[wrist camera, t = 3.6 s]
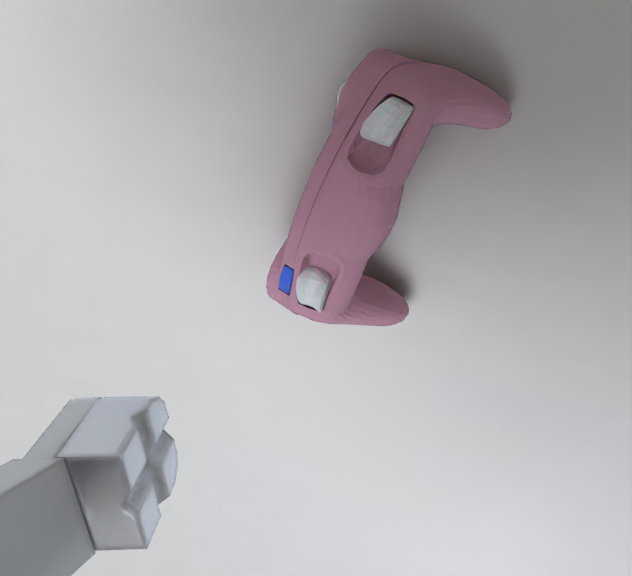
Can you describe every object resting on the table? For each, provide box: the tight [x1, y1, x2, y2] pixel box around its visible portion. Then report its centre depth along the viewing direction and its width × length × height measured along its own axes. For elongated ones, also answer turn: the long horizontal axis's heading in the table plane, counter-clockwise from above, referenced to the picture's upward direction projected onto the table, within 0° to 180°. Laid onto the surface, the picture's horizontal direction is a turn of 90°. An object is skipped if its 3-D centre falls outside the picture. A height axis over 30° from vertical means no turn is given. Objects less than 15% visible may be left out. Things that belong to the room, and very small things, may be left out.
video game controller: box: [266, 48, 512, 326], centre depth 21 cm, size 10×5×7 cm, turn 159°
